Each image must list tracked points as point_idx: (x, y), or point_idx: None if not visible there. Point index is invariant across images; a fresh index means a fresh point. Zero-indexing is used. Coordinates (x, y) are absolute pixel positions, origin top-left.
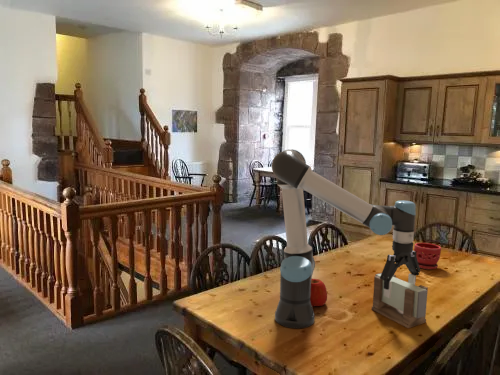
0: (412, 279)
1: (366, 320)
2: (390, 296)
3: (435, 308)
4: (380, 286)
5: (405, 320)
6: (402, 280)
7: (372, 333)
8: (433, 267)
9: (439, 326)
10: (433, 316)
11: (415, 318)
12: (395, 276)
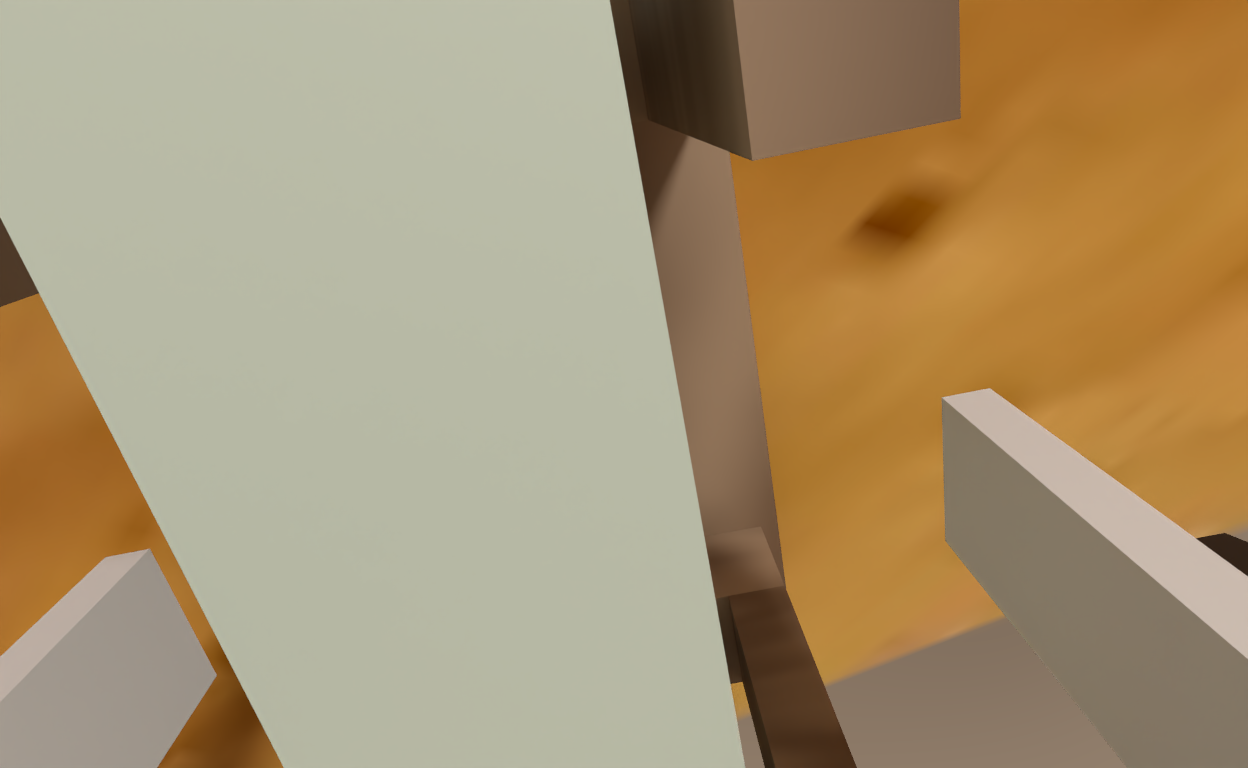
0: (1154, 743)
1: (52, 351)
2: (188, 704)
3: (1236, 320)
4: None
5: None
6: (725, 728)
7: (12, 625)
8: None
9: (839, 674)
10: None
11: None
12: (908, 122)
